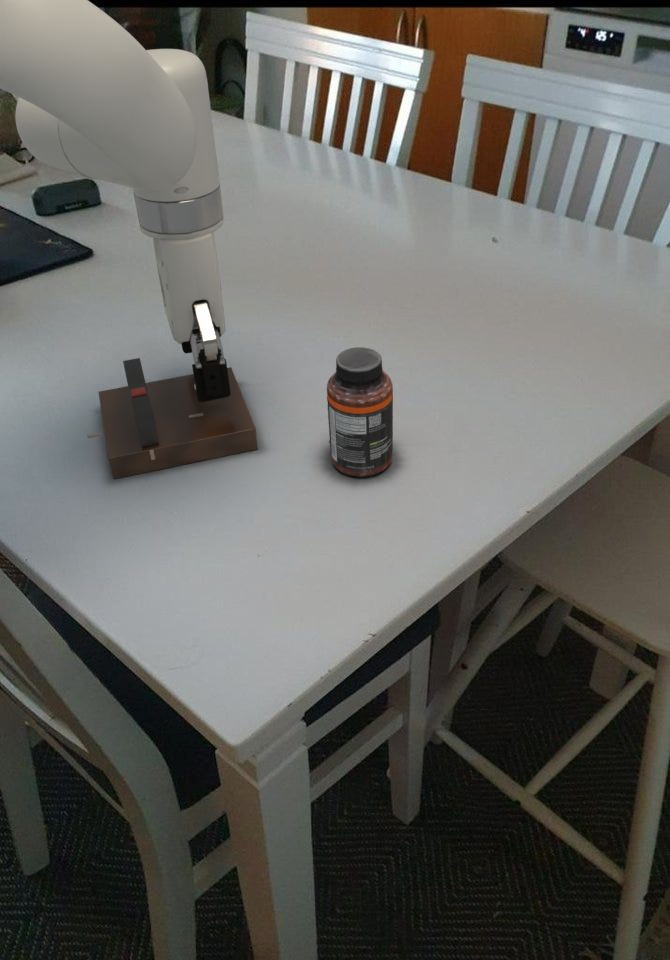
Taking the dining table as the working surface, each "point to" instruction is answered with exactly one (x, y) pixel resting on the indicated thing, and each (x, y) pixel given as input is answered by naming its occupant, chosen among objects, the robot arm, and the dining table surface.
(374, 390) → the supplement bottle
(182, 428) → the panel
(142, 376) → the dark battery block
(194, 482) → the dining table surface
